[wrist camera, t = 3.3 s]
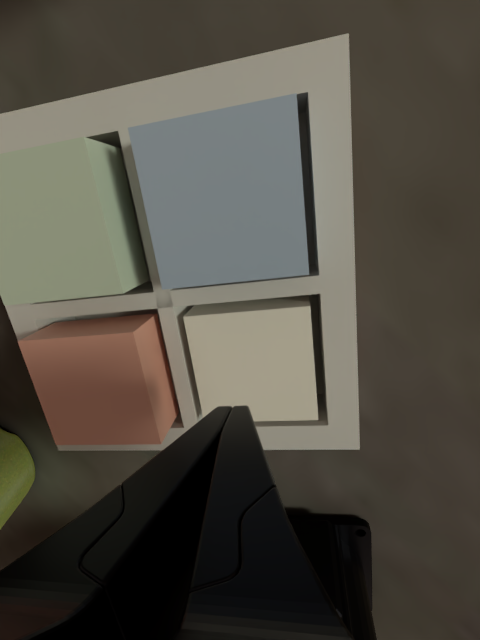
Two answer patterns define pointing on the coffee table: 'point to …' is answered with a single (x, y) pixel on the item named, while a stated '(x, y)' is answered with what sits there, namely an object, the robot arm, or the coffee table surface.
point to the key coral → (103, 380)
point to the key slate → (224, 193)
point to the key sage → (67, 224)
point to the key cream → (255, 357)
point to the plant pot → (13, 473)
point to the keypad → (172, 304)
